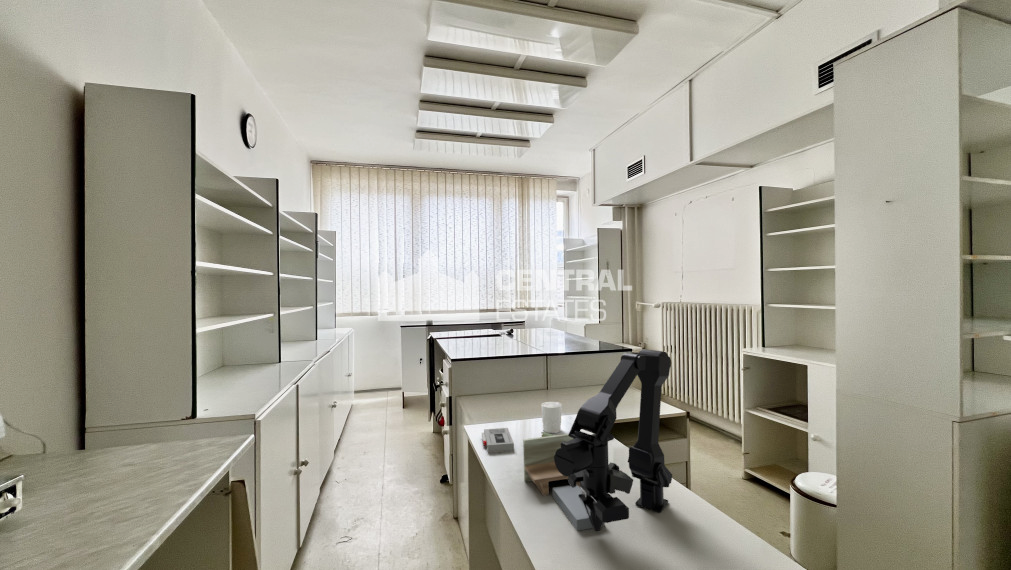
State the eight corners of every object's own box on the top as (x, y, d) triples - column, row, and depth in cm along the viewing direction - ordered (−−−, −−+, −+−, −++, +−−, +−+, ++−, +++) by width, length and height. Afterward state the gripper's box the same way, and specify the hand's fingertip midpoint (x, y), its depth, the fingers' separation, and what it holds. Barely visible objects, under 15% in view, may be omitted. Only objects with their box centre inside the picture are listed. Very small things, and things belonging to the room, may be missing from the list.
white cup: (548, 425, 170) (547, 400, 170) (565, 429, 166) (565, 403, 166) (538, 431, 164) (537, 405, 164) (555, 435, 159) (555, 408, 159)
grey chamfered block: (604, 525, 100) (604, 515, 100) (577, 530, 98) (576, 520, 98) (576, 493, 116) (576, 484, 116) (552, 497, 114) (552, 487, 114)
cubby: (589, 488, 118) (588, 445, 118) (535, 496, 114) (534, 452, 114) (574, 472, 128) (574, 433, 128) (524, 480, 124) (523, 439, 124)
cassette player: (513, 443, 145) (484, 445, 144) (514, 451, 145) (484, 453, 144) (507, 427, 161) (481, 429, 160) (507, 434, 161) (481, 436, 160)
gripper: (650, 475, 89) (652, 549, 89) (607, 443, 107) (609, 504, 107) (602, 483, 86) (604, 559, 87) (566, 448, 104) (568, 511, 105)
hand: (597, 530), depth 96 cm, fingers closed
